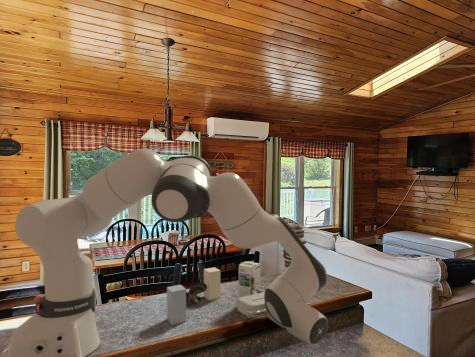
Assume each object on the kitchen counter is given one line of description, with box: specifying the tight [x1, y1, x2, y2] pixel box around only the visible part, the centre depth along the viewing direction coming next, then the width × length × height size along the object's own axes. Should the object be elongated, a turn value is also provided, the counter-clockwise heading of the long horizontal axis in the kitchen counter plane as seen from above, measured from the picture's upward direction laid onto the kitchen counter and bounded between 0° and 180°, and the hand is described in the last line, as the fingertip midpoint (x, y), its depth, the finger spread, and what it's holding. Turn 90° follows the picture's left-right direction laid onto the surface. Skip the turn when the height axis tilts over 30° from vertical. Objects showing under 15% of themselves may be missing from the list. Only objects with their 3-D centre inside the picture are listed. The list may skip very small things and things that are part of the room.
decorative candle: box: [282, 223, 307, 273], centre depth 125 cm, size 9×9×25 cm
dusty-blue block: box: [166, 284, 187, 326], centre depth 99 cm, size 4×4×10 cm
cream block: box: [203, 266, 221, 301], centre depth 117 cm, size 4×4×10 cm
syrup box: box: [238, 261, 261, 298], centre depth 109 cm, size 6×6×14 cm
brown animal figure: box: [186, 281, 207, 307], centre depth 112 cm, size 8×7×9 cm
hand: (255, 292), depth 106 cm, fingers closed
